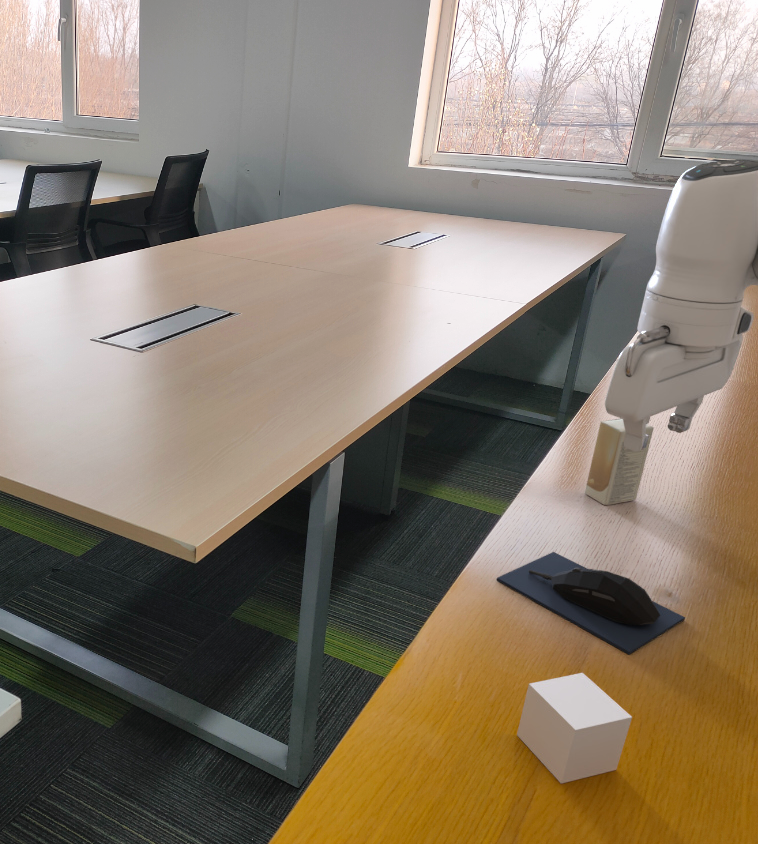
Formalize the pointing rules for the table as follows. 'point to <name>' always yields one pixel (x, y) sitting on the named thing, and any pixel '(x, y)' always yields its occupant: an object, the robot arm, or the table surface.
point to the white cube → (573, 727)
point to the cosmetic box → (615, 465)
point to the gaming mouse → (605, 595)
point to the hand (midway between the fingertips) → (656, 439)
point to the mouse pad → (596, 624)
